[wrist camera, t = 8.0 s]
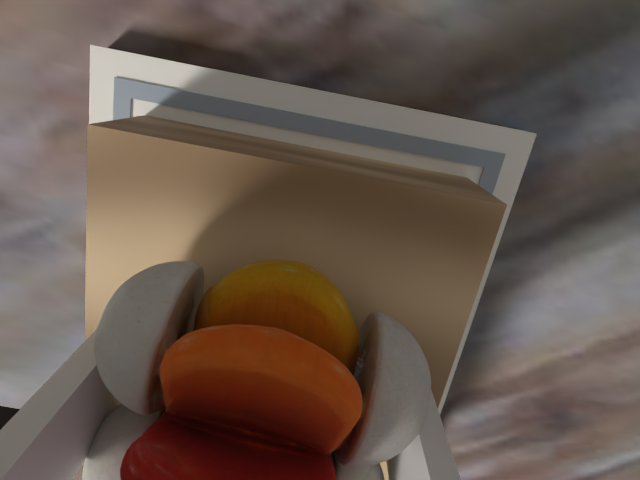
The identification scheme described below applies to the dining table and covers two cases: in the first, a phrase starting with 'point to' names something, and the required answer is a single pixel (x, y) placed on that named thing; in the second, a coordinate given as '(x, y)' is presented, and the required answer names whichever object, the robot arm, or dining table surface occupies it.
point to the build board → (313, 125)
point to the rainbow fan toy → (251, 379)
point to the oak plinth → (288, 223)
